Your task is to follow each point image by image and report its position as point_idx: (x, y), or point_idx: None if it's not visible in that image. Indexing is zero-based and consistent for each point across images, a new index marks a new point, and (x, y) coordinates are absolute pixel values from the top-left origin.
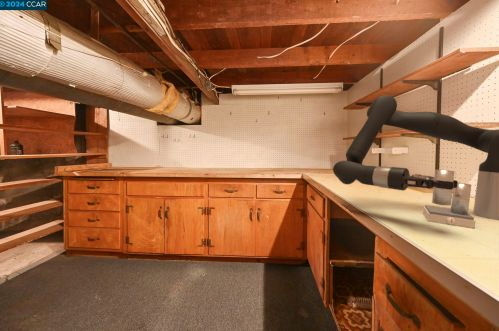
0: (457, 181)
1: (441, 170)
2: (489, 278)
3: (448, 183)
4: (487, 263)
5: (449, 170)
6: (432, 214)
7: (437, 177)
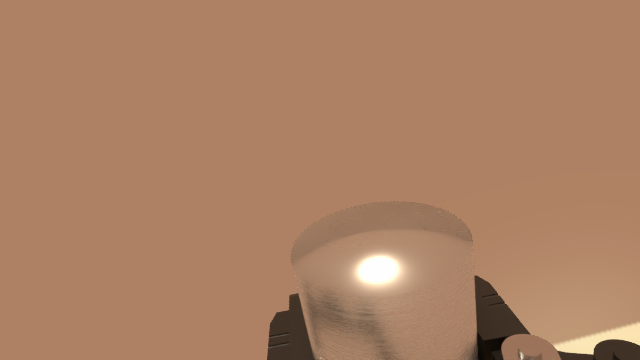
0: (293, 295)
1: (415, 245)
2: None
3: (485, 283)
4: None
5: (300, 238)
6: None
7: (475, 323)
